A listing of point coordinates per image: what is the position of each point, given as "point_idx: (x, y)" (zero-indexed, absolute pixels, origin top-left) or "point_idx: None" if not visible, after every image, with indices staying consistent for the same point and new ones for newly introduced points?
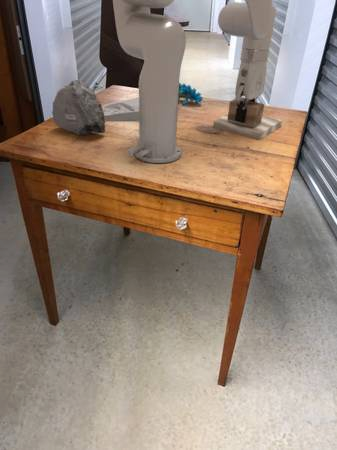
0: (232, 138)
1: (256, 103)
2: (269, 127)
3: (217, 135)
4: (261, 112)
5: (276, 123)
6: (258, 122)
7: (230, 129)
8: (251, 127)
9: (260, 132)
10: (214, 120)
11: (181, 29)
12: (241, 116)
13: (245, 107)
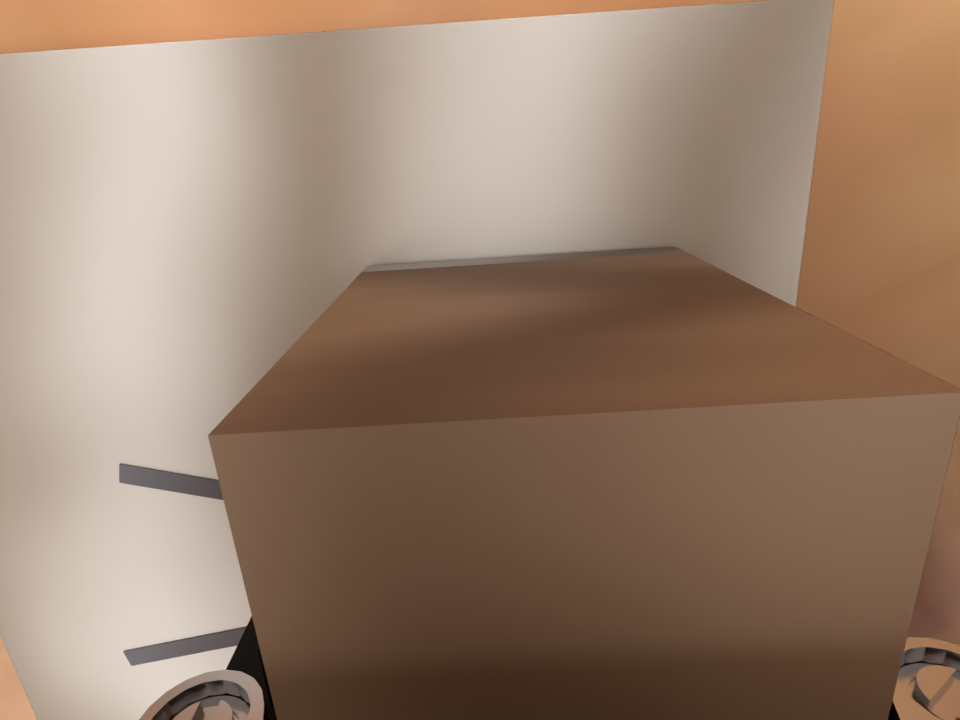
0: (941, 359)
1: (409, 664)
2: (380, 45)
3: (943, 535)
4: (410, 328)
5: (43, 62)
6: (486, 270)
7: None
8: None
9: (786, 28)
10: None
11: None
12: None
13: (928, 699)
